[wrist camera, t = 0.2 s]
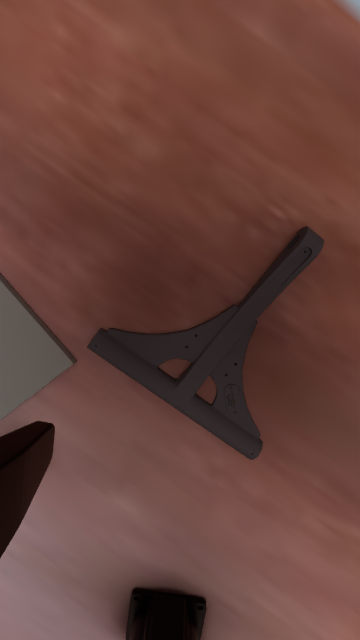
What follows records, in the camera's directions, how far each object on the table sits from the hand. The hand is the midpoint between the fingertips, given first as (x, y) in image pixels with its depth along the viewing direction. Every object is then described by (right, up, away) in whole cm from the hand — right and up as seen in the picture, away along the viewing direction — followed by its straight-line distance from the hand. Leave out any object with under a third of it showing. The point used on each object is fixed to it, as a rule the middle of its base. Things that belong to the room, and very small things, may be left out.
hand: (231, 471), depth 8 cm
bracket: (+3, +4, +15) cm, 15 cm away
